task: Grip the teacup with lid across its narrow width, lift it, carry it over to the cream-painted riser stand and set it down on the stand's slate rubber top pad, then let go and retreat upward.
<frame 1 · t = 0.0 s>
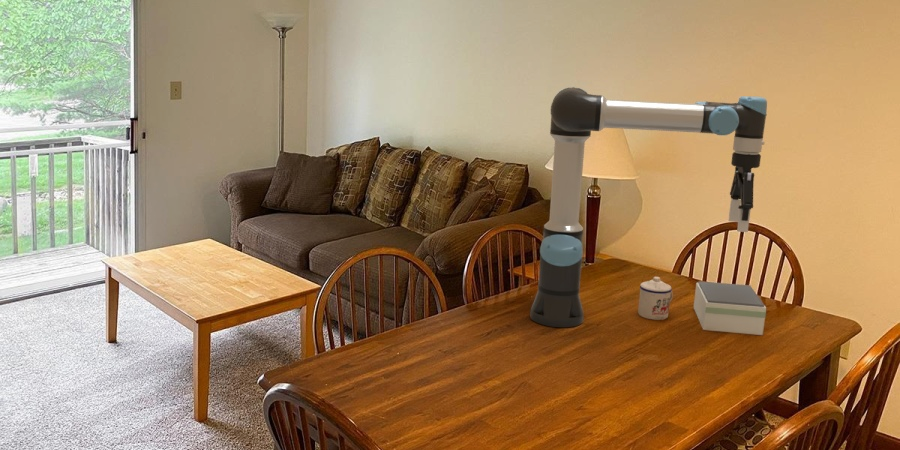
hand: (737, 226, 225), 28 cm above the table, fingers open, 13 cm apart
riser stand: (726, 320, 230), on the table
teacup with lid: (656, 315, 233), on the table
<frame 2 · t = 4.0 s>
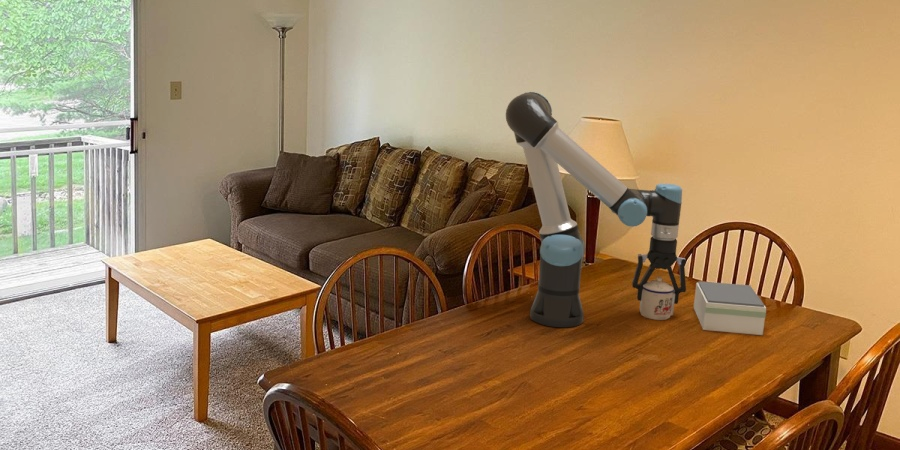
hand: (656, 312, 233), 1 cm above the table, fingers closed on teacup with lid, 8 cm apart
teacup with lid: (658, 315, 233), on the table, touching gripper
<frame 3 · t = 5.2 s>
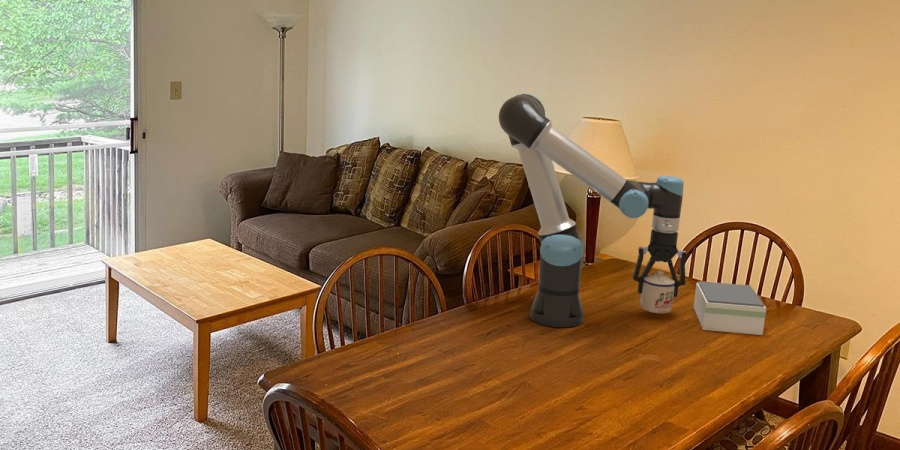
hand: (655, 305, 233), 3 cm above the table, fingers closed on teacup with lid, 7 cm apart
teacup with lid: (658, 308, 233), point 2 cm above the table, touching gripper
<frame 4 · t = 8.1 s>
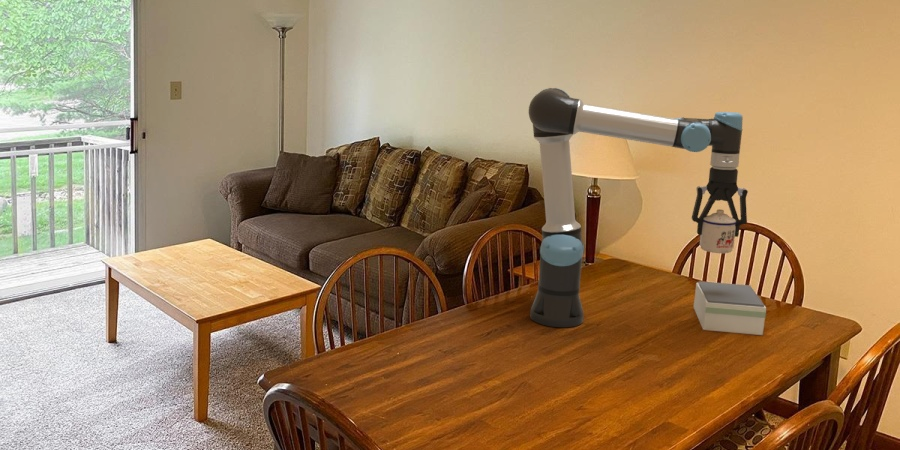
hand: (716, 246, 226), 22 cm above the table, fingers closed on teacup with lid, 7 cm apart
teacup with lid: (719, 249, 226), point 21 cm above the table, touching gripper
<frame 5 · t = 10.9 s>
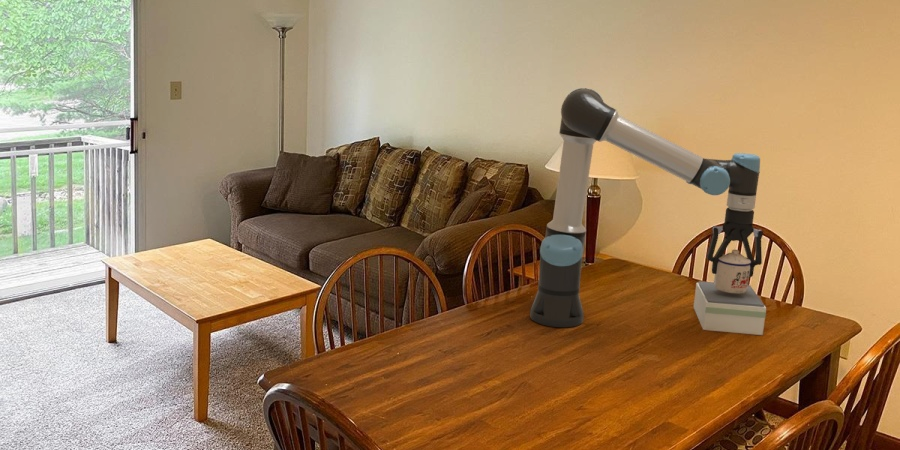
hand: (730, 285, 228), 11 cm above the table, fingers closed on teacup with lid, 7 cm apart
teacup with lid: (733, 289, 228), point 10 cm above the table, touching gripper
when the fingers open (11 cm above the table, at t = 11.4 s): teacup with lid moves 2 cm, resting on riser stand.
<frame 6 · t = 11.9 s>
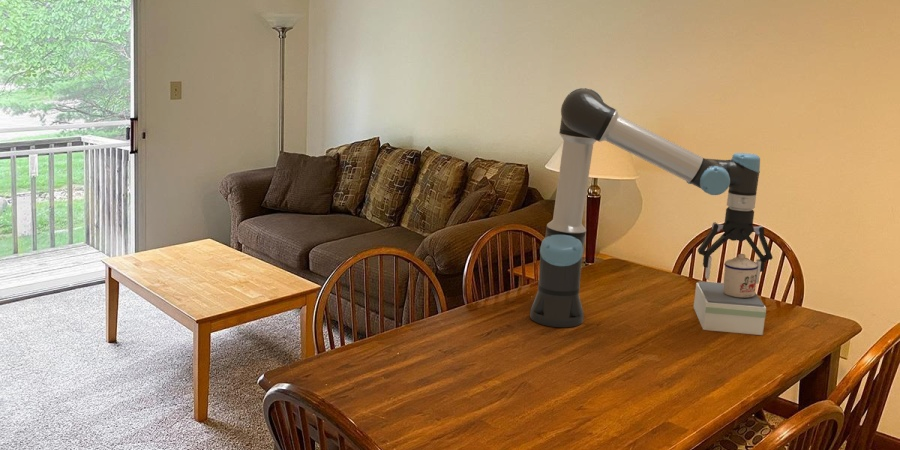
hand: (731, 280, 228), 12 cm above the table, fingers open, 13 cm apart
teacup with lid: (741, 293, 228), point 9 cm above the table, touching gripper, riser stand
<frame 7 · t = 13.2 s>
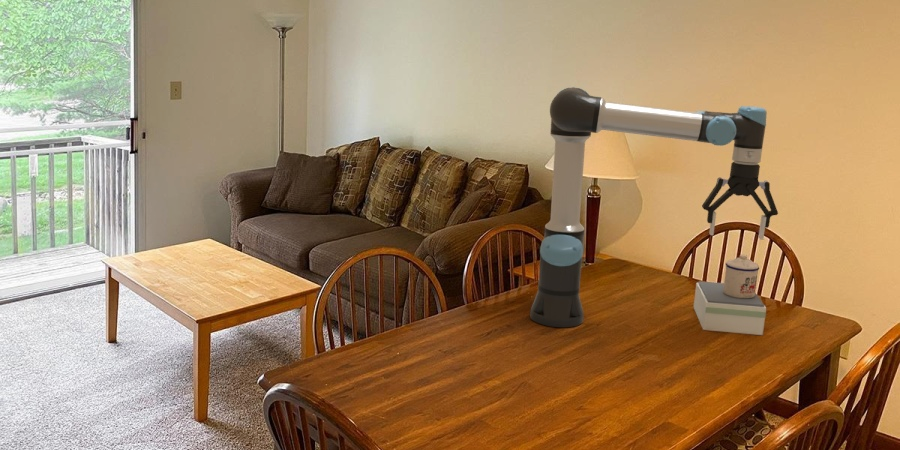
hand: (735, 236, 225), 25 cm above the table, fingers open, 13 cm apart
teacup with lid: (741, 294, 228), point 8 cm above the table, touching riser stand
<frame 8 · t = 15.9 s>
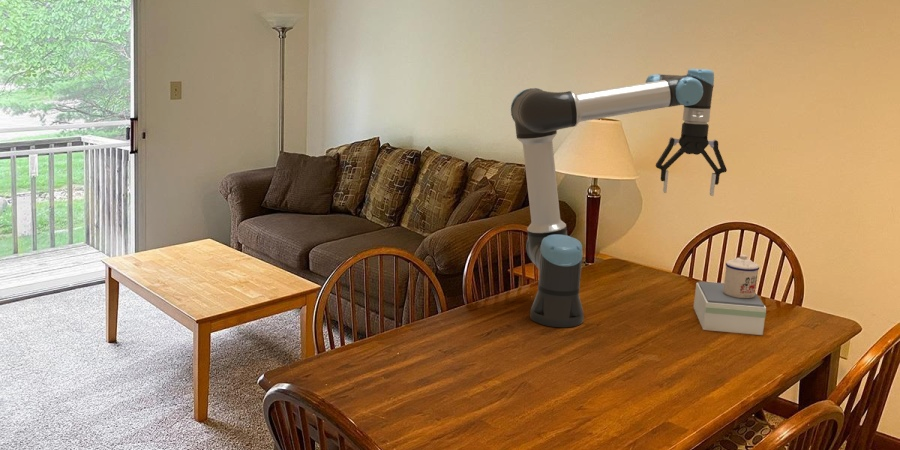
hand: (687, 193, 236), 35 cm above the table, fingers open, 13 cm apart
nothing on the table moved.
at the end: teacup with lid inside the target area on the riser stand (3.3 cm from its centre), point 8.4 cm above the riser stand's base; teacup with lid tilted 0°; the gripper is holding nothing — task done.
